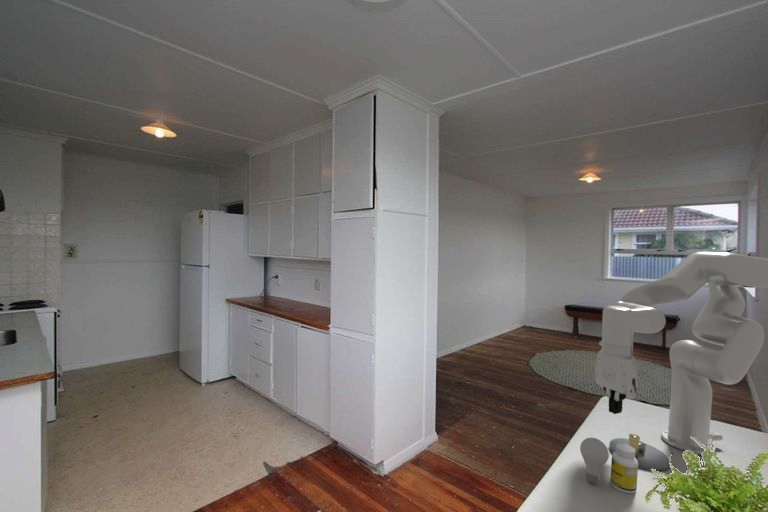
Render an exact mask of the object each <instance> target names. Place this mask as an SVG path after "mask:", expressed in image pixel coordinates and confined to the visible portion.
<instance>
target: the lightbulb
mask: <svg viewBox="0 0 768 512" xmlns="http://www.w3.org/2000/svg"><path fill="white" fill-rule="evenodd" d="M579 450H580V453H581V454H580V455H581V456H582V459H583V461H584V464H585V471H586V480H587V481H588V482H589V483H590V484H592V485H594V484H598V483H599V479H600V475H601V472H602V471H601V470H602V468H603V466H605V464H606V463H607V462H608V460H609V457H610V456H609V455H610V454H609V450H608V448H607V445H606V444H605V443H604V442H603V441H601V440H600V439H598V438H595V437H587V438H585V439H583V440H582V441H581V443H580V446H579Z"/></svg>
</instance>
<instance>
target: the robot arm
mask: <svg viewBox="0 0 768 512" xmlns="http://www.w3.org/2000/svg"><path fill="white" fill-rule="evenodd" d="M706 284H707V285H708V290H709V294H708V297H707V300H706V302H705V304H704V305H703V306H702V308H701V310H700V312H699V313H698V315H697V317H696V318H695V320H694V322H693V324H692V327H691V332H692V334H693V336H694V337H695V338H697V339H698V340H700V341H703V342H700V341H695V340H691V339H682V340H677V341H676V342H674V343H672V345H671V346H670V349H669V361H670V367H671V368H670V369H671V385H670V386H671V389H670V403H669V413H668V414H669V415H668V429H666V430H663V431H661V438H662V440H663V441H664V442H665V443H667V444H668V445H670V446H672V447H674V448H676V449H678V450H681V451H683V450H690V451H692V452H694V453H696V454H695V455H699V456H701V455H700V454H701V453H702V452H703V451H704V449H703V448H701V447H700V446H699V445H698V444H697V443H696V442H695V441H694V440H693V439H691V438H690V436H692V437H695V438H696V439H697V440H698V441H700V442H701V443H702V444H704V445H705V446H706V447H707V446H708V440H709V438H711V439H712V442H714V441H715V442H717V441H723V439H724V438H723V435H722V434H720V433H712V432H710V431H711V430H710V429H711V417H712V407H713V406H712V404H713V403H712V402H713V387H712V385H711V382H710V381H714V382H717V383H721V384H722V385H723V384H724V385H736V384H738V383H739V382H741V381H742V380H743V379H744V377H745V376H746V374H747V373H748V371H749V369H750V368H751V366H752V365H753V362H754V361H755V359H756V358H757V356H758V354H759V352H760V351H761V349H762V347H763V344H764V341H765V332H764V328H763V327H762V325H761V324H760V323H759V322H758V321H756V320H754V319H751V318H749V317H744V316H742V314H743V312H744V310H745V308H746V300H745V298H744V296H743V294H742V293H741V291H740V289H739V288H738V286H740V287H751V288H762V289H763V288H768V258H766V257H759V256H755V255H754V256H752V255H746V254H740V253H735V252H721V251H720V252H715V251H714V252H713V251H697V252H696V251H695V252H693V253H690V254H689V255H687V256H686V257H684V258H683V259H682V260H681V261H679V263H677V264H676V265H675V266H673V268H672V269H671V270H669V272H667V273H666V274H664V275H663V276H662V277H661V278H658V279H656V280H653V281H650V282H647V283H645V284H642V285H639V286H637V287H634V288H632V289H630V290H628V291H627V292H625V293H624V294H623V295H622V296H621V297H619V298H618V299H617V300H616V301H615V302H614V303H613V305H608V306H605V307H603V309H602V321H601V322H602V324H601V325H602V327H601V329H602V330H601V340H599V342H598V345H599V346H601V350H598V353H597V357H596V362H595V370H594V381H595V383H596V384H597V385H598V386H599V387H600V388H601V389H603V390H604V392H605V394H606V397H607V398H608V412H609V413H612V414H613V415H616V414H617V415H618V414H621V413H622V412H623V402H624V401H625V400H626V399H630V400H634V399H636V398H637V396H636V392H637V390H638V369H637V368H638V367H637V363H636V358H635V357H634V333H640V334H656V333H658V332H659V333H660V332H661V330H663V329H664V328H665V327H666V323H667V320H666V316H665V314H664V313H663V312H662V311H661V310H659V309H657V308H655V307H652V306H656V305H664V304H674V303H679V302H683V301H684V302H685V301H686V300H688V299H690V298H691V297H692V296H694V294H696V293H697V292H698V290H700V289H702V287H704V286H705V285H706ZM705 342H706V343H705ZM707 343H710V344H707ZM711 344H713V345H711ZM715 345H716V346H715ZM719 346H720V347H719ZM722 347H723V348H722ZM712 442H711V443H712ZM711 450H712V451H715V452H716V447H715V446H714V445H713V444H712V447H711Z"/></svg>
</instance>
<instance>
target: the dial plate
mask: <svg viewBox="0 0 768 512" xmlns="http://www.w3.org/2000/svg"><path fill="white" fill-rule="evenodd" d="M618 443H622V444H627V445H628V444H629V438H623V437H621V438H620V437H619V438H613V439H611V440H610V441H609V445H608V446H609V450H610V453H612V454H613V453H614V452H616V444H618ZM645 445H646V448H645V452H639V456H638V459H637V461H638V469H643V470H647V471H651V470H650V469H652V468H653V469H656V470H657V471H656V472H665V471H667V470H669V468H670V467H669V460H670V458H669V457H668V455H666V453H664V452H663V451H661V450H660V449H658V448H657V447H654V446H652V445H650V444H648V443H645ZM668 458H669V459H668Z"/></svg>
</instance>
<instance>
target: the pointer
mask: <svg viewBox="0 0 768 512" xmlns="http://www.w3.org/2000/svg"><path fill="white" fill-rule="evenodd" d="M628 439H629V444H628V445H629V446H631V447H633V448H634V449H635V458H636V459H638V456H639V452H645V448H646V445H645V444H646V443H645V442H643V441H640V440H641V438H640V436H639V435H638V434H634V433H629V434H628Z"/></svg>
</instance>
